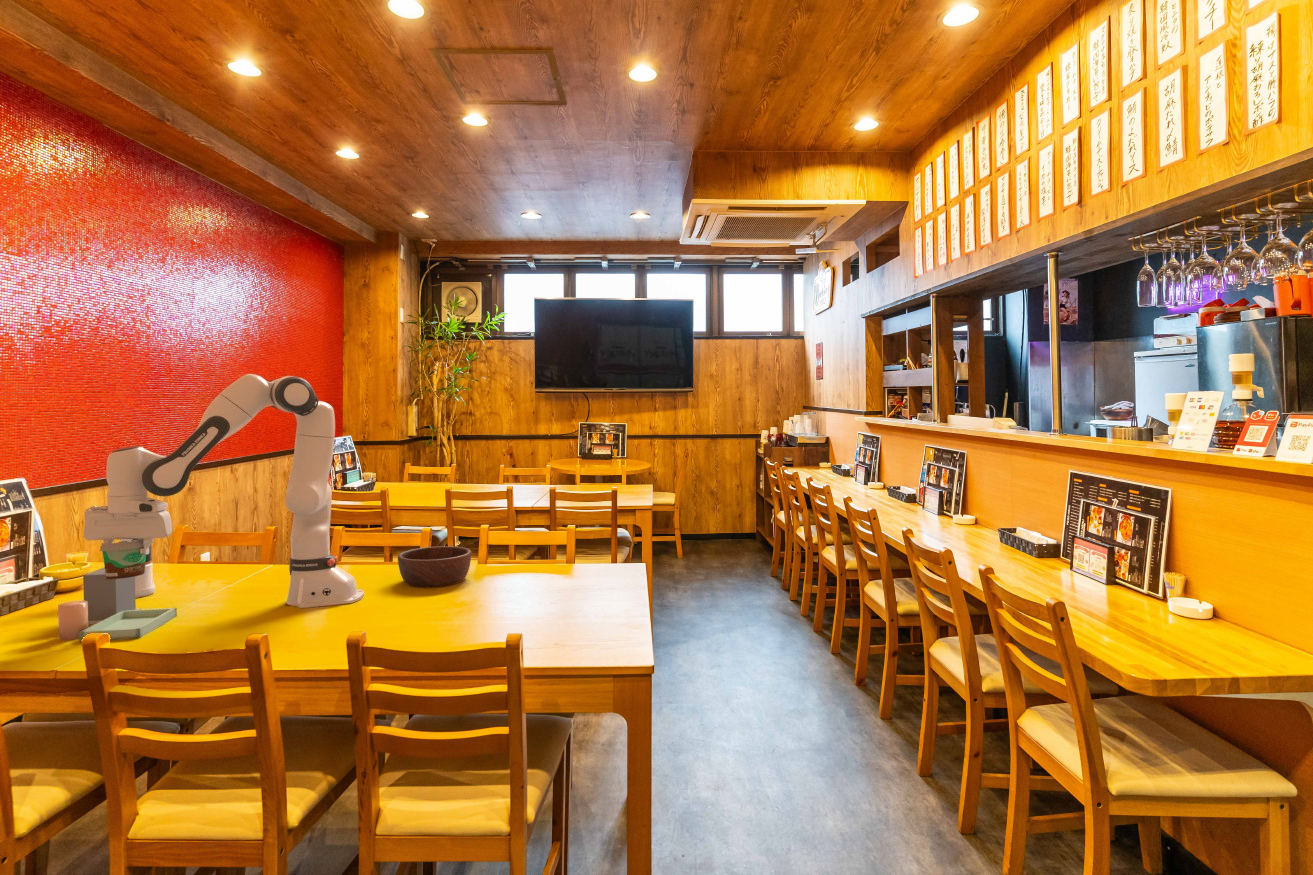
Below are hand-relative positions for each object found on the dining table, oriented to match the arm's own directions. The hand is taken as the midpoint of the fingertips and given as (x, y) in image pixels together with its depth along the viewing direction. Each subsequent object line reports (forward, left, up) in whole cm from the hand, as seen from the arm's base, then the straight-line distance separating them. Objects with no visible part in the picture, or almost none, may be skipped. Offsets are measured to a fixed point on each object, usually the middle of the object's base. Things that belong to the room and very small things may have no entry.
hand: (129, 554), depth 187 cm
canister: (+11, +5, -21) cm, 24 cm away
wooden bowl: (-77, -38, -21) cm, 88 cm away
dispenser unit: (+11, -12, -21) cm, 26 cm away
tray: (0, 0, -21) cm, 21 cm away
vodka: (+17, -39, -21) cm, 47 cm away
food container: (-1, 0, -6) cm, 6 cm away
